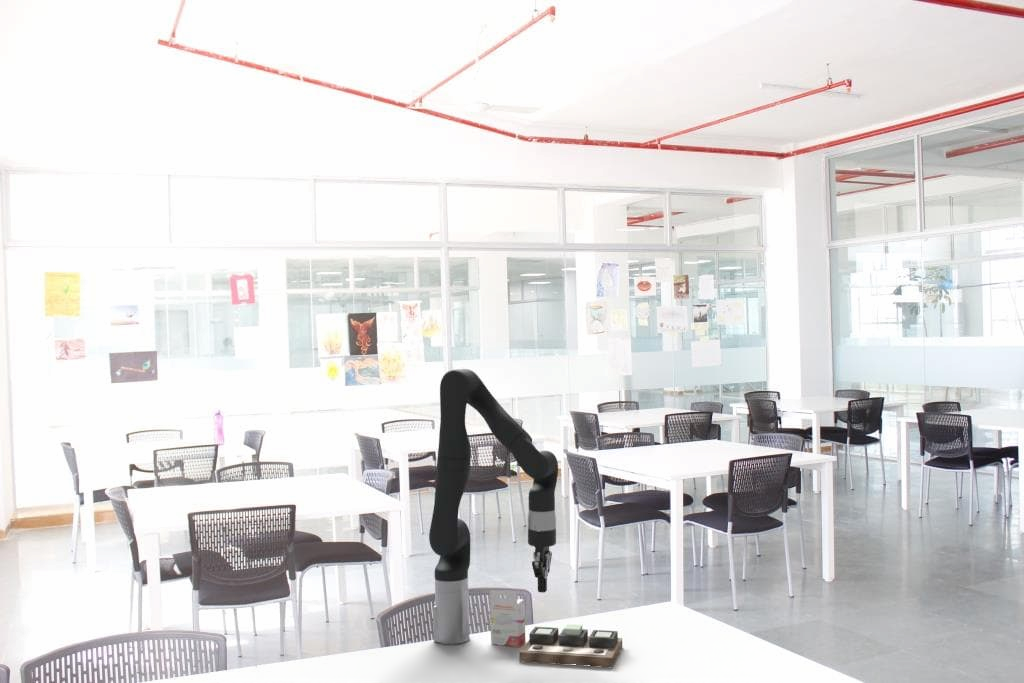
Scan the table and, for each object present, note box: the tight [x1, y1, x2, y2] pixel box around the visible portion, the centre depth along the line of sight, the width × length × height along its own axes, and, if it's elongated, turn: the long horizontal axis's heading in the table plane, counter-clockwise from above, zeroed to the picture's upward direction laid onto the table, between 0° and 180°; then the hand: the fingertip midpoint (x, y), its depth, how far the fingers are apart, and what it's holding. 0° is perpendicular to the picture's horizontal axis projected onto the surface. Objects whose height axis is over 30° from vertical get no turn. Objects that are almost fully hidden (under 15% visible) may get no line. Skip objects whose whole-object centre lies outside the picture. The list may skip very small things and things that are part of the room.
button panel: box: [519, 626, 623, 668], centre depth 244 cm, size 24×16×5 cm, turn 74°
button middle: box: [563, 623, 583, 636], centre depth 246 cm, size 4×4×2 cm
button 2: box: [594, 632, 612, 638], centre depth 244 cm, size 4×4×2 cm
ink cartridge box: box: [489, 590, 527, 648], centre depth 255 cm, size 9×5×15 cm, turn 68°
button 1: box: [535, 629, 553, 634], centre depth 248 cm, size 4×4×2 cm
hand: (542, 591), depth 248 cm, fingers closed
